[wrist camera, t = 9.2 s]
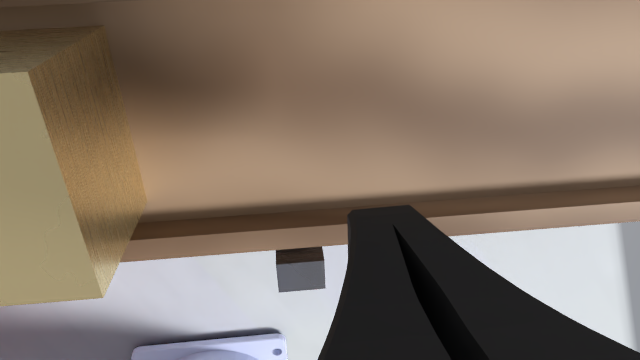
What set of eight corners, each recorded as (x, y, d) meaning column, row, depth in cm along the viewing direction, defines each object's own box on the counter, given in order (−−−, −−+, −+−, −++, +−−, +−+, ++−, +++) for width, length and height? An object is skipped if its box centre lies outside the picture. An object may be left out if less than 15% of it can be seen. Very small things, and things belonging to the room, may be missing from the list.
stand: (349, 213, 22) (373, 303, 17) (241, 221, 22) (232, 316, 17) (346, -149, 15) (385, -186, 10) (191, -144, 15) (148, -180, 10)
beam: (687, 189, 18) (752, 231, 16) (-75, 247, 17) (-136, 304, 14) (791, -78, 14) (902, -78, 11) (-225, -34, 12) (-351, -23, 10)
